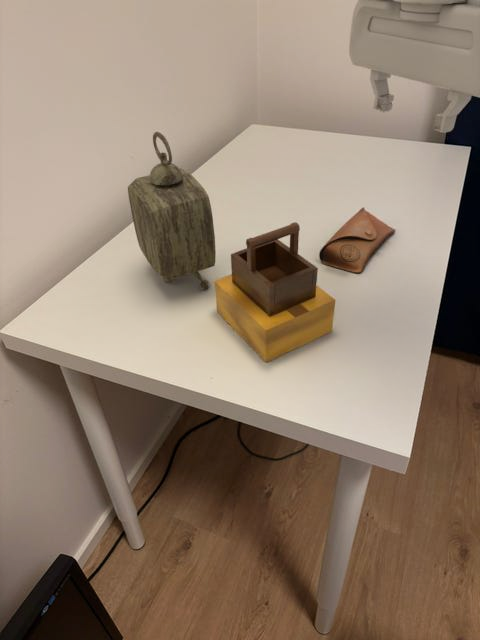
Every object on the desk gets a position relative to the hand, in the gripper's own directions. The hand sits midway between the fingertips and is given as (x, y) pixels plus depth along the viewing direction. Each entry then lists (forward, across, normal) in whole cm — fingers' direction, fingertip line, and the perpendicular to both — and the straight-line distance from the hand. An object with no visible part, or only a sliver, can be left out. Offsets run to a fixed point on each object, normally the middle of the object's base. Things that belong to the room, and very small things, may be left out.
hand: (410, 119), depth 58 cm
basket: (+23, +7, +15) cm, 28 cm away
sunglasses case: (+29, +16, -11) cm, 35 cm away
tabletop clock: (+29, +26, +22) cm, 45 cm away
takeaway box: (+29, +7, +15) cm, 33 cm away
